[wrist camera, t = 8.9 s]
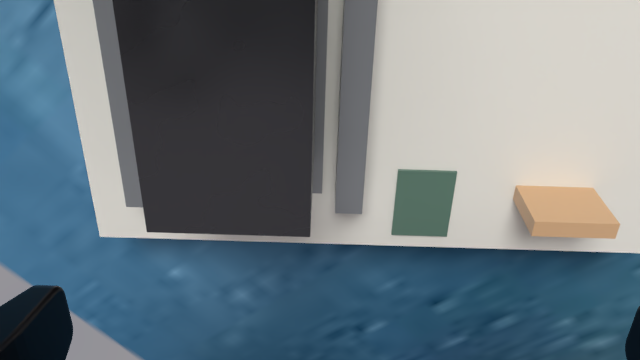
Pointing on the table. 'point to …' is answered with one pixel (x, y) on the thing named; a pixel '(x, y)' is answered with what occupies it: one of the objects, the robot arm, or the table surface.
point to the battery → (222, 112)
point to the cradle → (425, 124)
